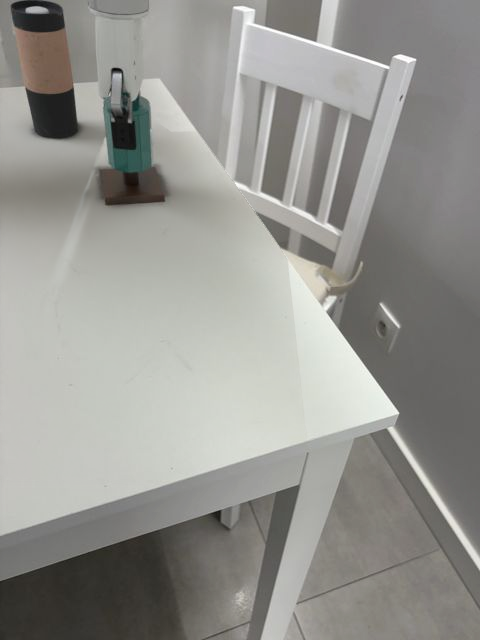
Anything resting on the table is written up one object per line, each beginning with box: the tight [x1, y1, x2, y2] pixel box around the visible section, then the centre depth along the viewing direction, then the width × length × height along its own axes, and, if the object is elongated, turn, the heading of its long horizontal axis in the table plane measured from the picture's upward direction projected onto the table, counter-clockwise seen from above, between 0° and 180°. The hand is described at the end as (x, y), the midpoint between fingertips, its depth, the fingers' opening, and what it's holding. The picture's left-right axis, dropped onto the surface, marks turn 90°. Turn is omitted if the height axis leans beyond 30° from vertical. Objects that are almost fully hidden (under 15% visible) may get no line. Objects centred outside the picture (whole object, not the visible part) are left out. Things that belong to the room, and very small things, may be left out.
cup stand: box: [98, 166, 166, 206], centre depth 84 cm, size 9×9×8 cm
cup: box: [102, 94, 154, 173], centre depth 81 cm, size 6×7×9 cm
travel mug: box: [9, 0, 79, 140], centre depth 90 cm, size 8×8×20 cm
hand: (128, 136), depth 81 cm, fingers closed on cup, 6 cm apart
